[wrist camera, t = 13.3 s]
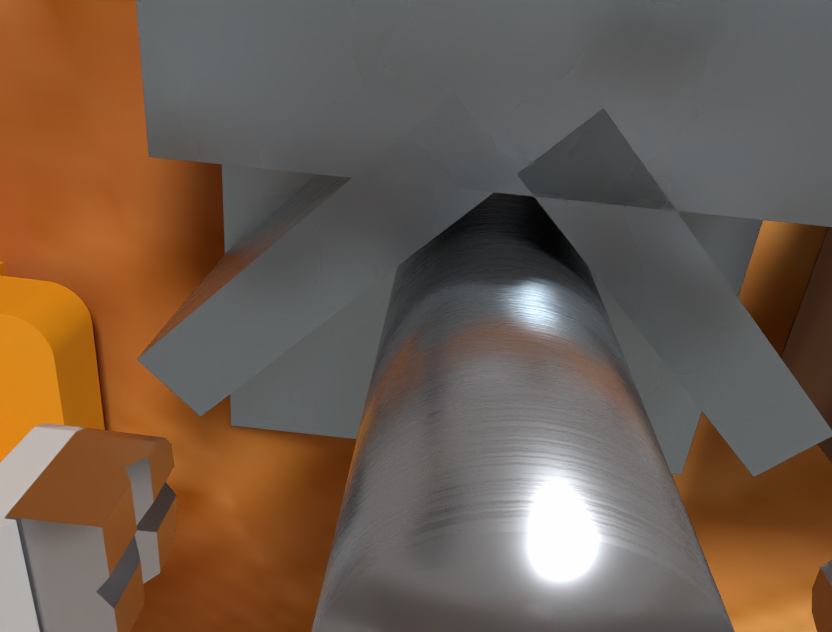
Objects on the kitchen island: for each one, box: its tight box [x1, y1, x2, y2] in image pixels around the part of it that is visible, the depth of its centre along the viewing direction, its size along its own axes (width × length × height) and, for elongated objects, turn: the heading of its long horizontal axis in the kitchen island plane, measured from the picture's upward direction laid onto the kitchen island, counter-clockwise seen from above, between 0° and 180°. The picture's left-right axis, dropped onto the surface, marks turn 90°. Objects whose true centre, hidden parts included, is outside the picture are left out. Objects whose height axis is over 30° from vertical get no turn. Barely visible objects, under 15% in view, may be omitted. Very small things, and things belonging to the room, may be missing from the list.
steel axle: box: [311, 192, 735, 632], centre depth 11 cm, size 4×4×11 cm
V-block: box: [136, 0, 832, 477], centre depth 14 cm, size 12×12×6 cm
